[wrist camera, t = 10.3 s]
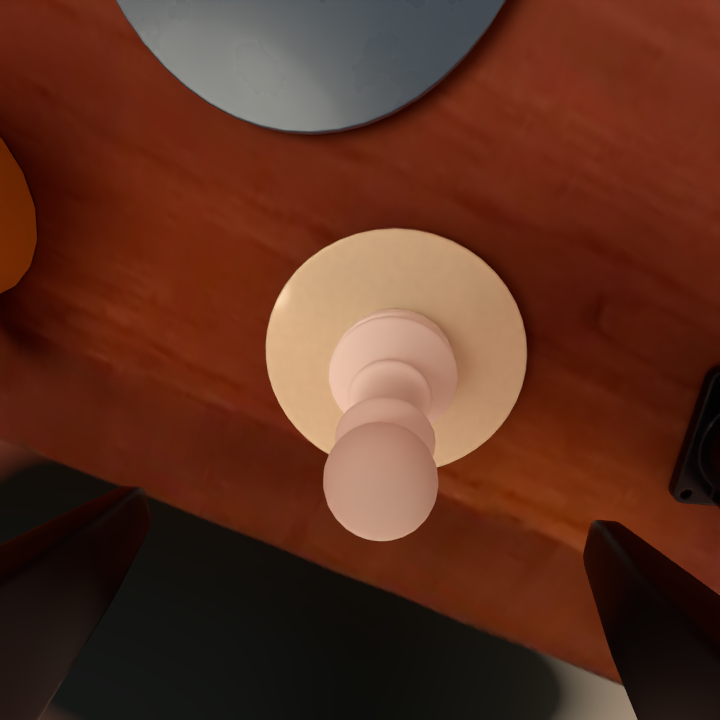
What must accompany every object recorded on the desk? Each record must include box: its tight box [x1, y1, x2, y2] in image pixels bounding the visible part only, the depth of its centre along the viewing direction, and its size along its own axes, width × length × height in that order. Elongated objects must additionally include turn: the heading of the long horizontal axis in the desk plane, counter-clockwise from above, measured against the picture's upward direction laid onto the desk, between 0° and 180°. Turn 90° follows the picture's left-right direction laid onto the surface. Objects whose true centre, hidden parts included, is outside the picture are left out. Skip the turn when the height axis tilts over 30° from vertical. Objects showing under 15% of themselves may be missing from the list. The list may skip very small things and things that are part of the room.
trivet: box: [266, 227, 527, 468], centre depth 18 cm, size 11×11×1 cm
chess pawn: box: [323, 308, 458, 541], centre depth 13 cm, size 5×5×9 cm
